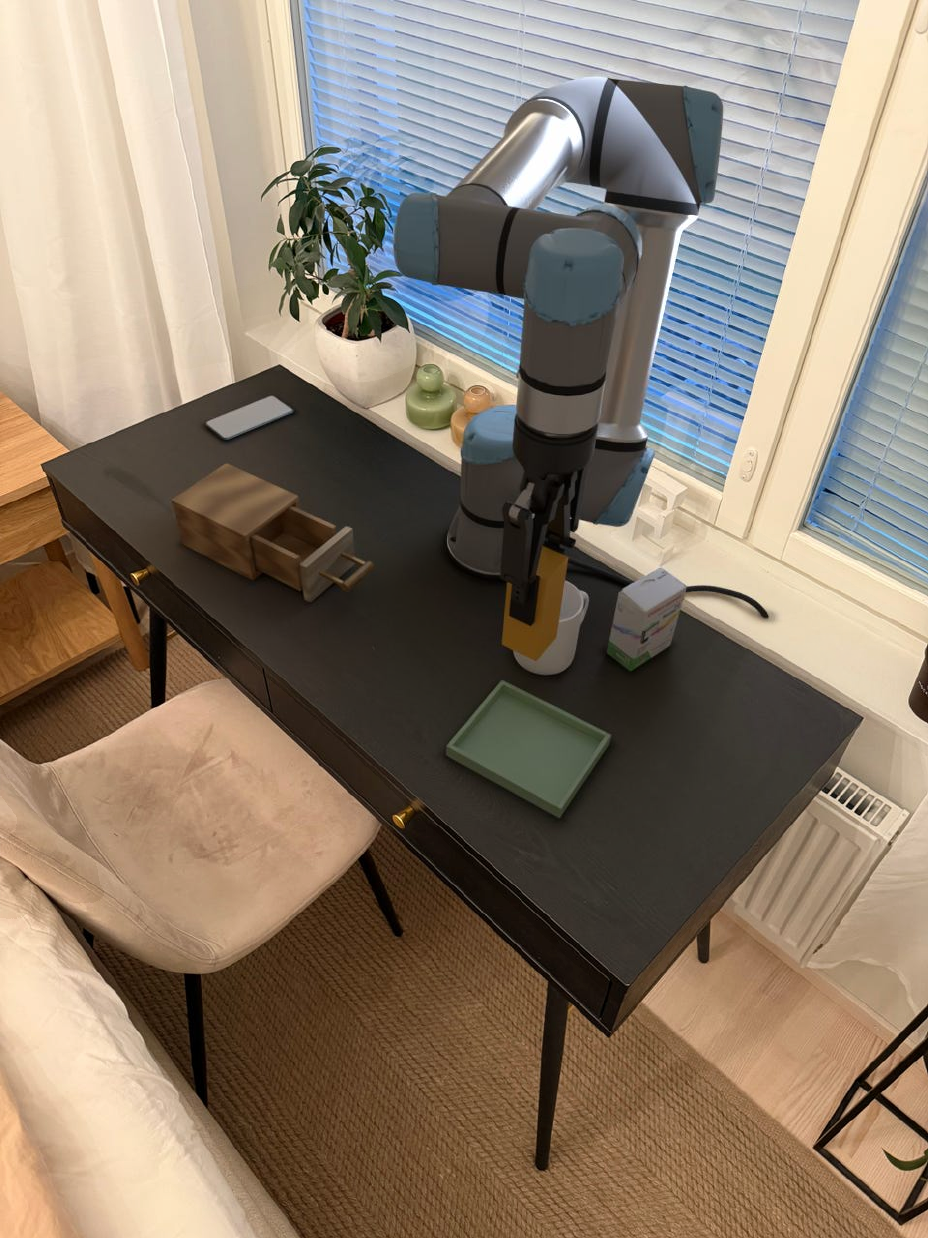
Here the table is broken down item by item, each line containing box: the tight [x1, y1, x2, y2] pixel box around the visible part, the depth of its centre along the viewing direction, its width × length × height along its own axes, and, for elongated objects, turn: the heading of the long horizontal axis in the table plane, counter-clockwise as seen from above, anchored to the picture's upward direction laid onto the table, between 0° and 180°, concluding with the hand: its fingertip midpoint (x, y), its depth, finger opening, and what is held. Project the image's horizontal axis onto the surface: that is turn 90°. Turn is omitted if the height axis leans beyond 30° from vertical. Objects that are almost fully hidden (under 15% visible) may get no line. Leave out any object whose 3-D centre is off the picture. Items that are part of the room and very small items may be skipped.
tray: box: [445, 679, 612, 819], centre depth 112 cm, size 16×13×2 cm
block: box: [501, 546, 569, 661], centre depth 96 cm, size 4×4×12 cm
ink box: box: [606, 567, 688, 672], centre depth 121 cm, size 8×5×12 cm, turn 129°
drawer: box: [249, 505, 375, 603], centre depth 131 cm, size 19×10×7 cm, turn 57°
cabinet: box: [171, 462, 301, 581], centre depth 136 cm, size 15×12×9 cm
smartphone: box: [204, 395, 295, 441], centre depth 164 cm, size 7×1×15 cm
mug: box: [512, 580, 590, 676], centre depth 121 cm, size 9×12×11 cm
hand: (534, 604), depth 96 cm, fingers closed on block, 4 cm apart
